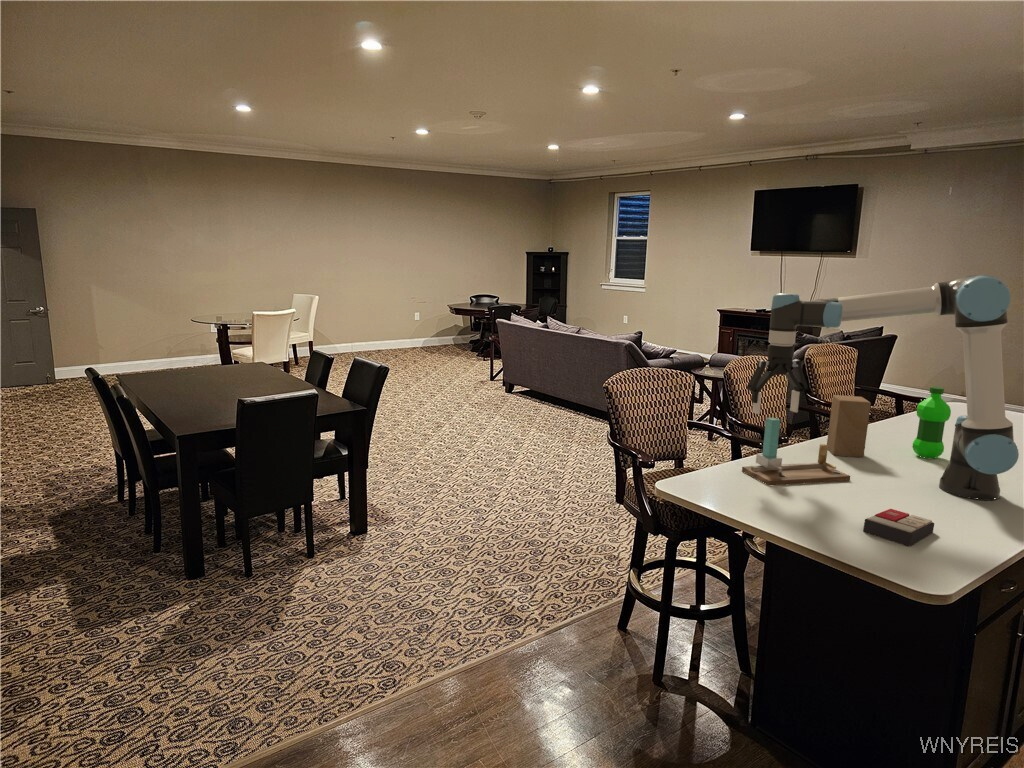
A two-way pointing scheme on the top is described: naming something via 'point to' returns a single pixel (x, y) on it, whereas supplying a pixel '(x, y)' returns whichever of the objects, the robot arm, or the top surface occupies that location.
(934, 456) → the plastic bottle
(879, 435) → the top surface
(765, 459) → the sliding lever
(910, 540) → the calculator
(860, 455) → the wooden block
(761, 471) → the hole plate
